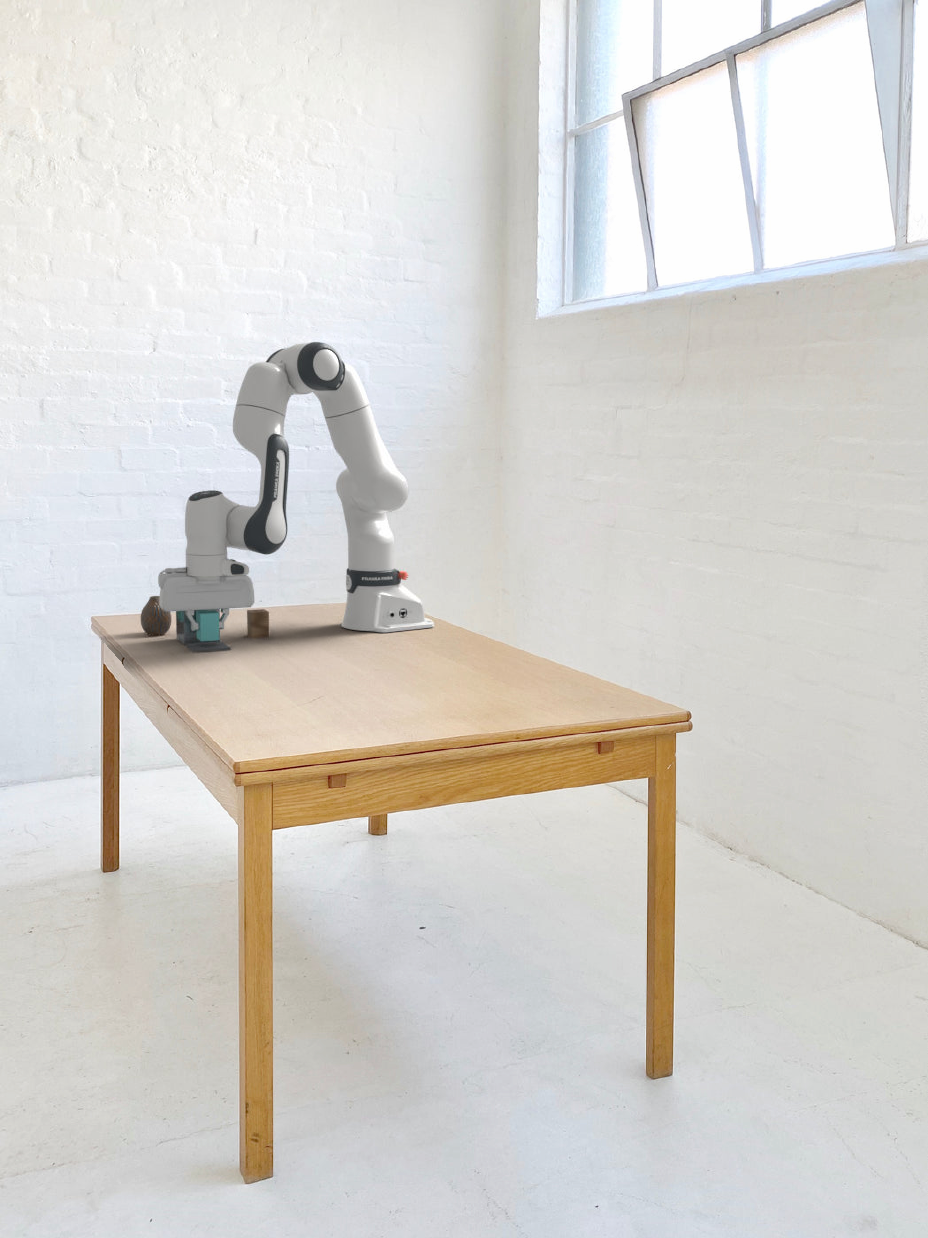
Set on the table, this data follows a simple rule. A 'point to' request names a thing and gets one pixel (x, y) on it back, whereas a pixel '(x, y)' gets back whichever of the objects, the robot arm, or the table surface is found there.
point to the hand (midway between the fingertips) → (207, 629)
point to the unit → (189, 628)
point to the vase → (155, 618)
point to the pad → (208, 646)
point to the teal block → (208, 625)
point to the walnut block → (258, 623)
